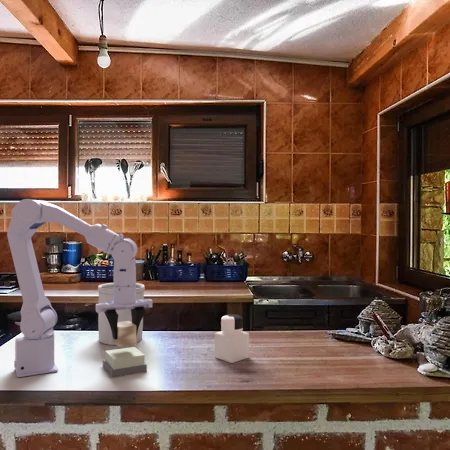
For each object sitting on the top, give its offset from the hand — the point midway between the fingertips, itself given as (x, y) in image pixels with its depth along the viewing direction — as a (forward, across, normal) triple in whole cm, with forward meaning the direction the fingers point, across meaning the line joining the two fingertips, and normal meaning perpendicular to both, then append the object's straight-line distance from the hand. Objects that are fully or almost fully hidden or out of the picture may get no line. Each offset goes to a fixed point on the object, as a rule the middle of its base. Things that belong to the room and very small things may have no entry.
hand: (124, 337), depth 116 cm
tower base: (+9, 0, 0) cm, 9 cm away
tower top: (+7, 0, 0) cm, 7 cm away
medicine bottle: (+9, +30, -5) cm, 31 cm away
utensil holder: (+9, +7, +28) cm, 30 cm away
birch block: (+2, 0, 0) cm, 2 cm away
